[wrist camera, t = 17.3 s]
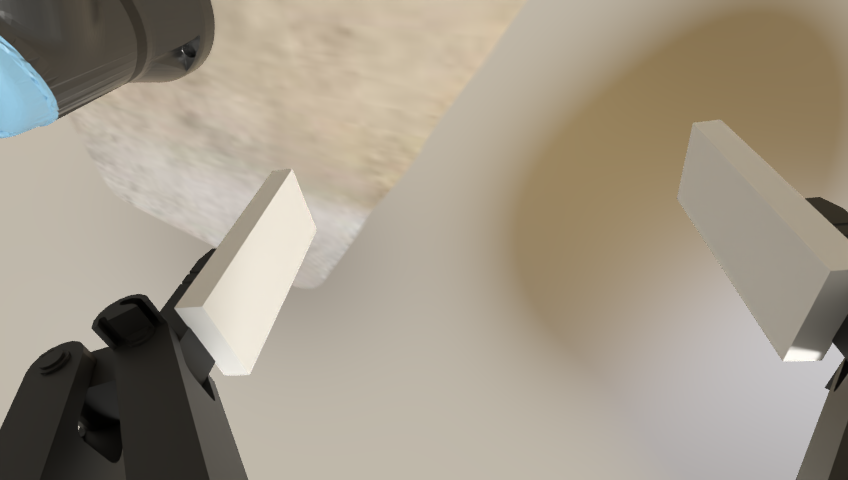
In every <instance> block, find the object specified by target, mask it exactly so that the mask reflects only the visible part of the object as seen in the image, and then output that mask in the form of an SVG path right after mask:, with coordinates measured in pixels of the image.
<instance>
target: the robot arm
mask: <svg viewBox="0 0 848 480" xmlns="http://www.w3.org/2000/svg"><path fill="white" fill-rule="evenodd" d="M214 29H215V27H214V15H213V9H212V5H211V1H210V0H0V138H6V137H12V136H15V135H18V134H21V133H23V132H26V131H28V130H31V129H33V128H36V127H38V126H46V125H49V124H51V123H53V122H54V121H55V120H57V119H59V118H61V117H63V116H65V115H67V114H69V113H70V112H72V111H74V110H76V109H78V108H80V107H82V106H84V105H86V104H88V103H90V102H91V101H93V100H95V99H97V98H99V97H101V96H103V95H105V94H107V93H109V92H111V91H112V90H114V89H116V88H118V87H120V86H122V85H124V84H126V83H128V82H168V81H173V80H176V79H179V78H181V77H183V76H185V75H187V74H189V73H191V72H193V71H194V70H196V69H197V68H198V67H200V66H201V65H202V64H203V62H204V61H205V60H206V58H207V57H208V55H209V53H210V50H211V48H212V44H213V40H214ZM677 199H678V201H679V203H680V204H681V206H682V207H683V209H684V210H685V212H686V213H687V215H688V216H689V218H690V220H691V221H692V223H693V224H694V226H695V227H696V229H697V230H698V232H699V233H700V235H701V236H702V238H703V239H704V241H705V243H706V244H707V246H708V247H709V249H710V250H711V252H712V253H713V255H714V256H715V258H716V259H717V261H718V262H719V264H720V266H721V267H722V269H723V270H724V272H725V273H726V275H727V276H728V278H729V279H730V281H731V282H732V284H733V286H734V287H735V289H736V290H737V292H738V293H739V295H740V296H741V298H742V299H743V301H744V302H745V304H746V306H747V307H748V308H749V310H750V312H751V313H752V315H753V316H754V318H755V319H756V321H757V322H758V324H759V326H760V327H761V328H762V330H763V332H764V333H765V335H766V336H767V338H768V339H769V341H770V342H771V344H772V345H773V347H774V349H775V350H776V352H777V353H778V355H779V356H780V358H781V359H782V361H814V360H822V359H823V358H824V356H825V354H826V353H827V351H828V349H829V348H830V346H831V344H832V343H834V344H835V345H836V347H837V348H838V349H839V350H840V352H841V353H842V354H843V356H844V357H845V358H844V360H843V361H842V362H841V364H840V365H839V367H838V369H837V370H836V372H835V373H834V375H833V376H832V378H831V379H830V381H829V382H828V384H827V385H826V387H825V388H826V389H829V390H830V391H829V393H828V396H827V399H826V402H825V404H824V407H823V409H822V412H821V415H820V417H819V420H818V422H817V425H816V428H815V430H814V433H813V436H812V439H811V441H810V444H809V447H808V449H807V451H806V454H805V457H804V460H803V462H802V465H801V467H800V470H799V473H798V475H797V478H796V480H848V212H847V211H846V210H845V209H843V208H841V207H839V206H837V205H835V204H833V203H831V202H829V201H827V200H825V199H823V198H820V197H815V198H803V197H802V196H801V195H800V194H799V193H798V192H797V191H796V190H795V189H794V188H793V187H792V186H791V185H790V184H789V183H787V181H785V180H784V179H783V178H782V177H781V176H780V175H779V174H778V173H777V172H776V171H775V170H774V169H773V168H771V166H770V165H768V164H767V163H766V162H765V161H764V160H763V159H762V158H761V157H760V156H759V155H758V154H757V153H756V152H755V151H754V150H753V149H751V148H750V147H749V146H748V145H747V144H746V143H745V142H744V141H743V140H742V139H741V138H740V137H739V136H738V135H737V134H736V133H734V132H733V131H732V130H731V129H730V128H729V127H728V126H727V125H726V124H725V123H724V122H723V121H722V120H714V121H705V122H697V123H693V126H692V130H691V135H690V140H689V144H688V149H687V154H686V158H685V163H684V168H683V173H682V177H681V182H680V187H679V191H678V196H677ZM316 231H317V229H316V227H315V224H314V222H313V219H312V217H311V214H310V212H309V209H308V207H307V204H306V202H305V199H304V197H303V194H302V192H301V189H300V187H299V184H298V182H297V179H296V177H295V174H294V172H293V169H286V170H278V171H272V172H271V174H270V175H269V177H268V178H267V179H266V181H265V182H264V184H263V185H262V186H261V188H260V189H259V191H258V192H257V193H256V195H255V196H254V198H253V199H252V200H251V202H250V203H249V205H248V206H247V207H246V209H245V210H244V211H243V213H242V214H241V216H240V217H239V218H238V220H237V221H236V223H235V224H234V225H233V227H232V228H231V230H230V231H229V232H228V234H227V235H226V237H225V238H224V239H223V241H222V242H221V243H220V245H219V246H218V248H216V249H211V250H210V251H209V252H208V253H207V254H205V255H204V256H203V257H202V258H200V259H199V260H198V261H197V263H196V264H195V266H194V267H193V268H192V270H191V271H190V274H188V275H187V276H186V277H185V279H184V280H183V281H182V284H180V285H179V287H178V288H177V289H176V291H175V292H174V294H173V295H172V296H171V298H170V299H169V300H168V302H167V303H166V304H165V306H164V307H163V308H162V310H161V311H160V312H159V311H158V310H157V308H156V307H155V306H154V305H153V303H152V302H151V301H150V300H149V298H148V297H147V296H146V295H142V294H136V295H130V296H127V297H125V298H122V299H119V300H118V301H116V302H115V303H113V304H111V305H109V306H108V307H107V308H105V309H104V310H103V311H102V312H101V313H100V314H99V315H98V316H97V317H96V319H95V320H94V322H93V325H92V329H93V330H94V331H95V333H96V334H97V335H98V336H99V337H100V338H101V339H102V340H103V341H104V342H105V343H106V344H107V345H108V346H109V347H106V348H103V349H100V350H96V351H93V352H90V351H88V349H87V348H86V347H85V346H84V345H83V344H82V343H81V342H77V341H71V342H67V343H63V344H60V345H58V346H56V347H54V348H51V349H50V350H48V351H47V352H45V353H44V354H42V355H41V356H40V357H39V358H38V359H37V360H36V361H35V362H34V363H33V364H32V365H31V366H30V368H29V369H28V371H27V372H26V374H25V376H24V378H23V381H22V383H21V385H20V387H19V389H18V392H17V394H16V396H15V398H14V400H13V402H12V405H11V407H10V409H9V411H8V413H7V416H6V418H5V420H4V422H3V425H2V427H1V429H0V480H248V478H247V475H246V472H245V469H244V466H243V464H242V461H241V458H240V455H239V452H238V449H237V446H236V444H235V440H234V437H233V435H232V432H231V429H230V426H229V423H228V420H227V418H226V414H225V411H224V409H223V406H222V403H221V400H220V397H219V394H218V391H217V388H216V385H215V383H214V381H213V380H212V378H211V377H210V376H209V372H210V371H211V369H212V367H213V365H214V363H216V365H217V366H218V367H219V369H220V370H221V371H222V373H223V374H224V375H225V376H227V375H250V373H251V371H252V368H253V366H254V364H255V362H256V360H257V358H258V356H259V354H260V351H261V349H262V347H263V345H264V342H265V341H266V338H267V336H268V334H269V332H270V330H271V328H272V325H273V323H274V321H275V319H276V317H277V314H278V313H279V310H280V308H281V306H282V304H283V302H284V300H285V297H286V295H287V293H288V291H289V289H290V287H291V285H292V282H293V280H294V278H295V276H296V274H297V272H298V270H299V267H300V265H301V263H302V261H303V259H304V257H305V254H306V252H307V250H308V248H309V246H310V244H311V242H312V239H313V237H314V235H315V233H316ZM78 426H80V428H79V431H78Z"/></svg>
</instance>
